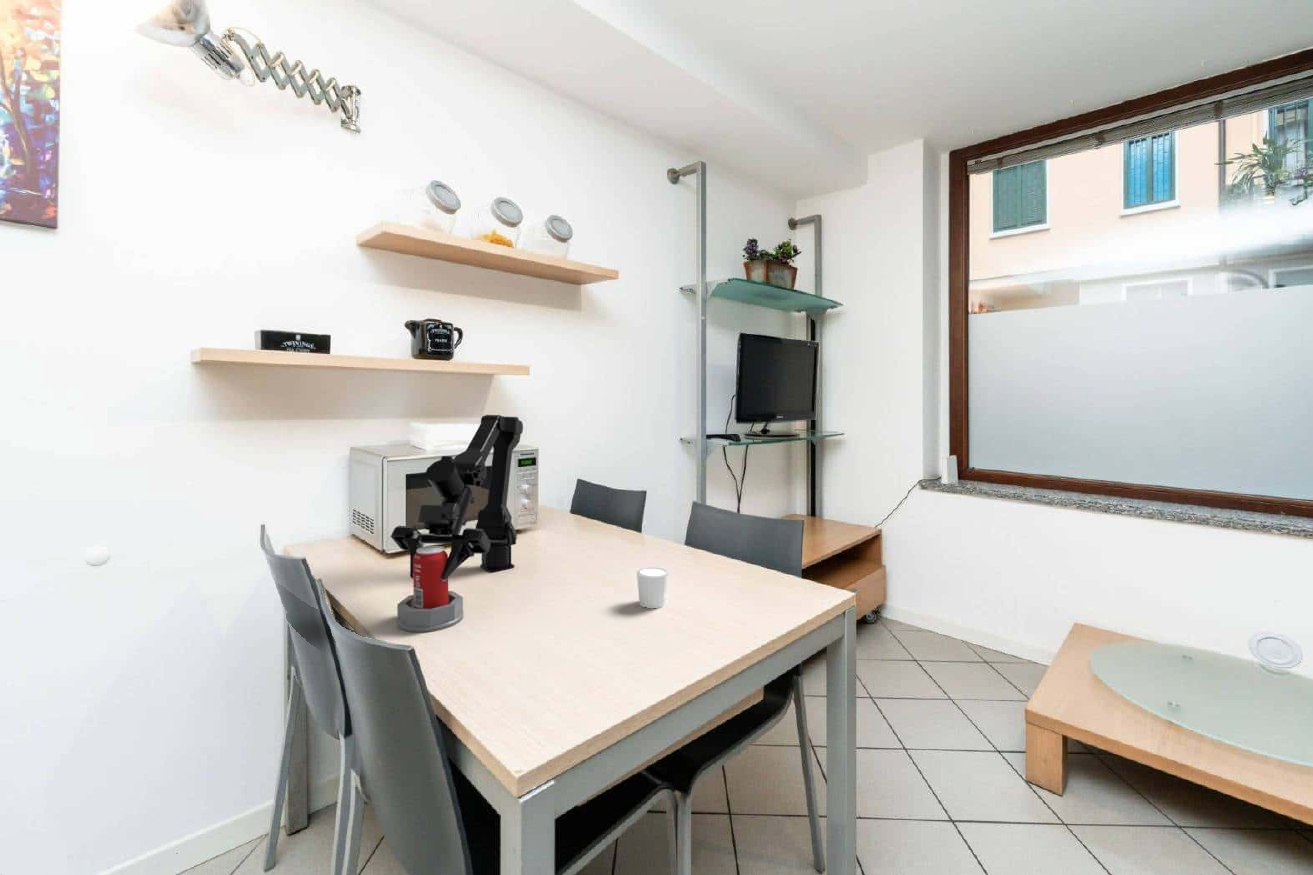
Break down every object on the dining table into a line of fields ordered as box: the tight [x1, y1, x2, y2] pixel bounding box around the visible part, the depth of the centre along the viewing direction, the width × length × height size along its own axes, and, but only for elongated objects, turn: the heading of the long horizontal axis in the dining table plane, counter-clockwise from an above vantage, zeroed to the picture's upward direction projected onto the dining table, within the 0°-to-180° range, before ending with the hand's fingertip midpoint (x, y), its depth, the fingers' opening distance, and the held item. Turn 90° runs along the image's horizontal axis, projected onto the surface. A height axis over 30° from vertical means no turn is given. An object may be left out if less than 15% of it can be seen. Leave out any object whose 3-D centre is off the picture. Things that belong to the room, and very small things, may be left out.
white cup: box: [636, 567, 670, 609], centre depth 118 cm, size 7×7×7 cm
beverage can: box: [412, 545, 449, 609], centre depth 108 cm, size 6×6×12 cm
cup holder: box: [396, 590, 464, 633], centre depth 108 cm, size 12×12×4 cm
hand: (427, 578), depth 107 cm, fingers closed on beverage can, 6 cm apart
